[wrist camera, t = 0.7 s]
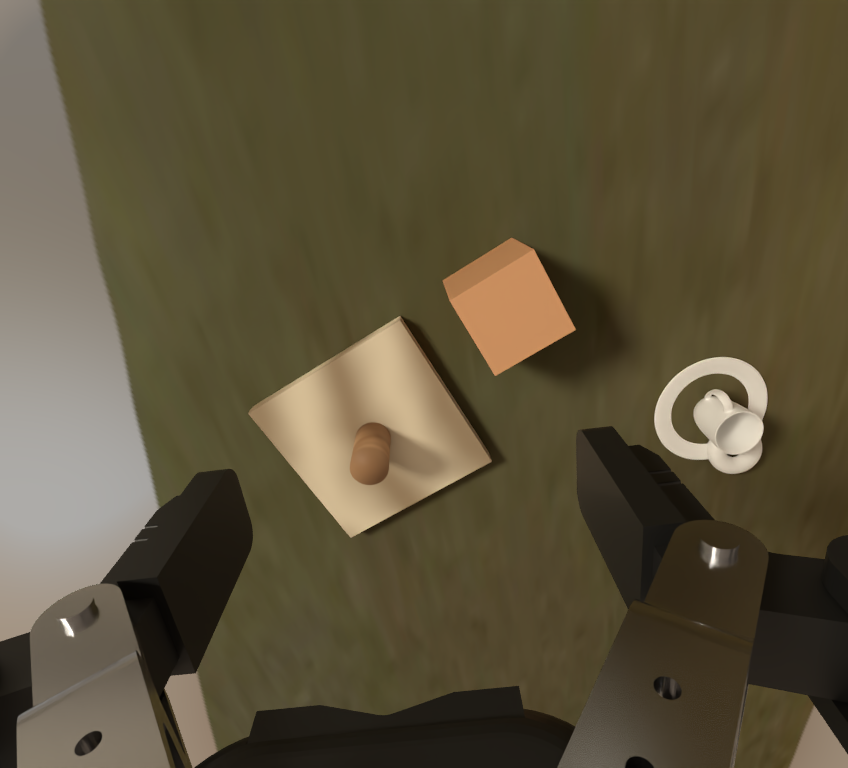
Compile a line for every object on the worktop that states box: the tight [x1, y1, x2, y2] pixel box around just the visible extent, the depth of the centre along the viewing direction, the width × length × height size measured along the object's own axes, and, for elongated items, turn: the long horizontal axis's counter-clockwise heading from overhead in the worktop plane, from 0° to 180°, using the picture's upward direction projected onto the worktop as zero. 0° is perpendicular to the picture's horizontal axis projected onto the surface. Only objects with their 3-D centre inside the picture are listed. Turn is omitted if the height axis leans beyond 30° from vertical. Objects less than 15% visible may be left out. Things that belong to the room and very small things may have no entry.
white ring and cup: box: [654, 357, 768, 474], centre depth 35 cm, size 9×8×4 cm
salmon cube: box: [443, 238, 576, 376], centre depth 30 cm, size 5×5×6 cm
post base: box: [248, 316, 492, 537], centre depth 34 cm, size 12×12×5 cm
